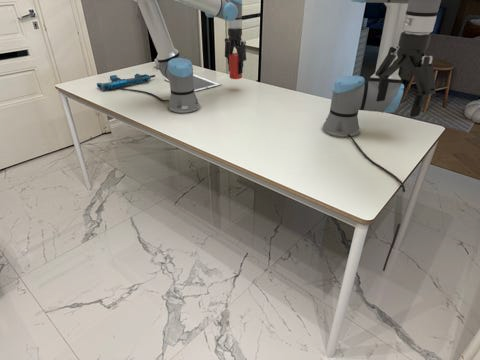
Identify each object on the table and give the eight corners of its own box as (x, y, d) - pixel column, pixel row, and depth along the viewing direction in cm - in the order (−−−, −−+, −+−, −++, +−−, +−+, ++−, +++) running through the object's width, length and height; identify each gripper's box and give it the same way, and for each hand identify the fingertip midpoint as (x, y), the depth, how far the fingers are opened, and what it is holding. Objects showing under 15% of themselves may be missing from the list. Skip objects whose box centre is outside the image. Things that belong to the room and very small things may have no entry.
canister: (230, 75, 195) (230, 52, 188) (242, 75, 195) (242, 53, 188) (228, 79, 190) (228, 55, 183) (240, 79, 189) (240, 56, 182)
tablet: (164, 79, 213) (164, 79, 213) (191, 73, 224) (191, 73, 224) (193, 92, 193) (193, 91, 193) (221, 85, 204) (221, 84, 204)
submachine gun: (141, 68, 225) (159, 74, 208) (142, 74, 227) (160, 80, 210) (89, 78, 206) (104, 86, 190) (91, 84, 208) (106, 92, 192)
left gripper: (253, 29, 174) (253, 74, 187) (226, 24, 186) (227, 67, 198) (243, 31, 170) (243, 76, 182) (216, 26, 181) (218, 70, 194)
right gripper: (372, 26, 99) (359, 96, 111) (446, 42, 80) (420, 125, 92) (392, 24, 102) (377, 93, 113) (468, 39, 82) (440, 121, 94)
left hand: (235, 72), depth 190 cm, fingers closed on canister, 7 cm apart
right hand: (396, 108), depth 102 cm, fingers open, 13 cm apart
